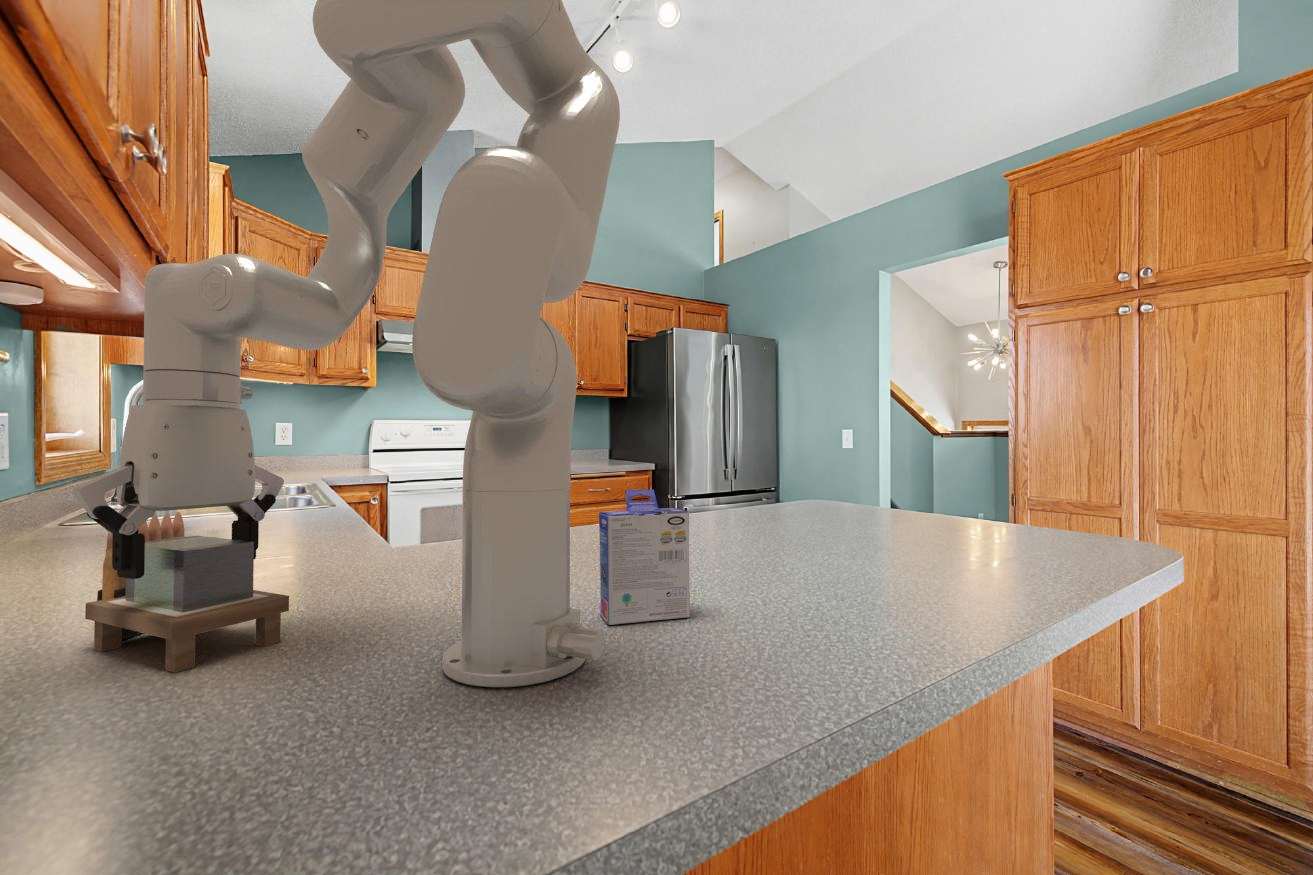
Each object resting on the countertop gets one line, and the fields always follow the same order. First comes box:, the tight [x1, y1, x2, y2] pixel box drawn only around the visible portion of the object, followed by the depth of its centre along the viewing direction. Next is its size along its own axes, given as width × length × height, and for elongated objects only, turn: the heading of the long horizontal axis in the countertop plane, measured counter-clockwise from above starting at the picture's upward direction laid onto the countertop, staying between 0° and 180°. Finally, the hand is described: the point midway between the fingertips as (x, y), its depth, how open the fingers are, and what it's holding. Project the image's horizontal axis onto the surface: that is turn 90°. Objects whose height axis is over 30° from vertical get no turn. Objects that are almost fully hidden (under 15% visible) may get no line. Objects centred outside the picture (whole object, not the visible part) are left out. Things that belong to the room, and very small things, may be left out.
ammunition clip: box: [96, 511, 186, 641], centre depth 63 cm, size 11×2×12 cm, turn 5°
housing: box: [125, 535, 255, 612], centre depth 57 cm, size 6×10×6 cm, turn 65°
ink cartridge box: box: [598, 489, 691, 626], centre depth 68 cm, size 10×6×14 cm, turn 108°
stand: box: [84, 589, 290, 674], centre depth 57 cm, size 15×10×5 cm, turn 65°
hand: (191, 567), depth 57 cm, fingers open, 9 cm apart
